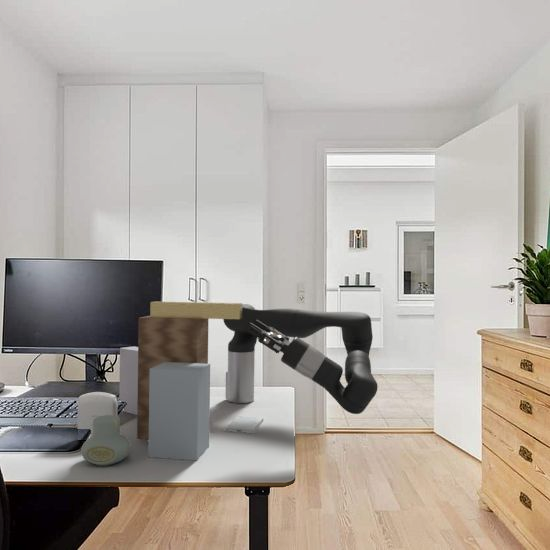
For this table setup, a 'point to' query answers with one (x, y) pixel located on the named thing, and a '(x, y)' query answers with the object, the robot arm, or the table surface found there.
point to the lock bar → (196, 310)
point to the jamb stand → (166, 354)
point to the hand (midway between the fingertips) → (250, 324)
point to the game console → (129, 378)
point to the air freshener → (106, 442)
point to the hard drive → (244, 424)
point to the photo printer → (94, 408)
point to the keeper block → (179, 410)
